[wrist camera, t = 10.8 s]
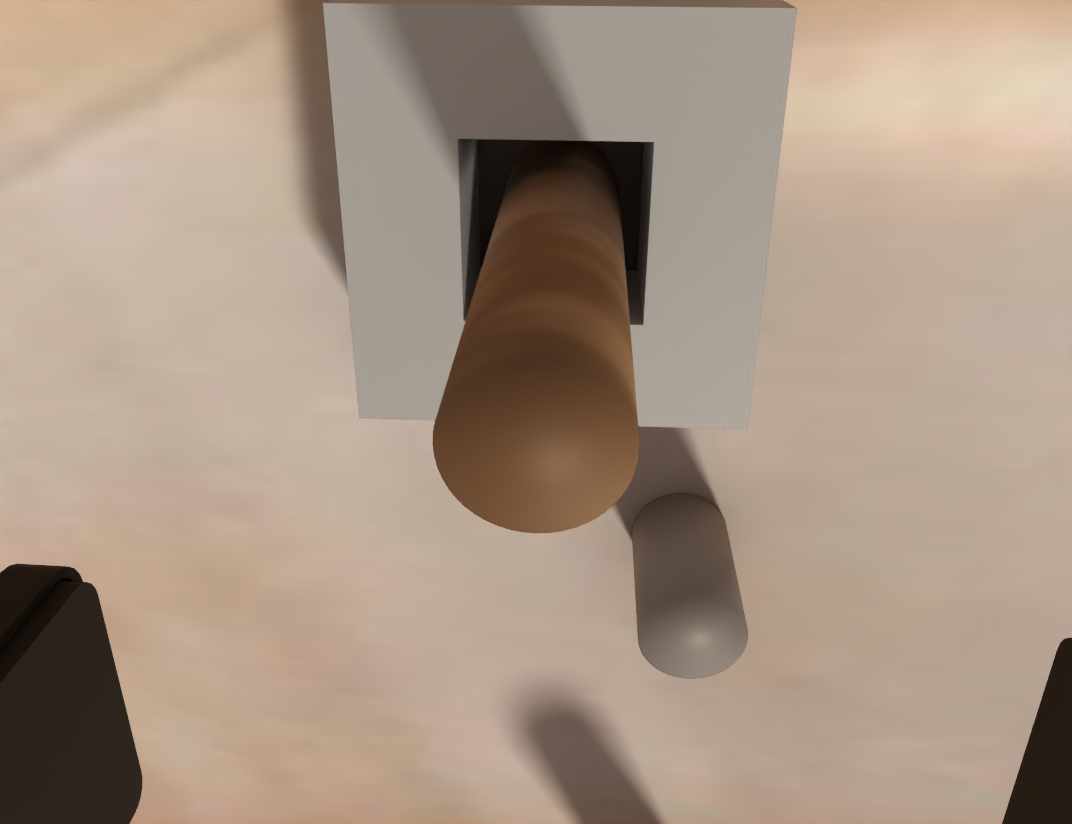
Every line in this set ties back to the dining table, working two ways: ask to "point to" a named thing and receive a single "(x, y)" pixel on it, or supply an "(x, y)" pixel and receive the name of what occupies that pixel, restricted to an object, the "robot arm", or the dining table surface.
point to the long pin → (545, 353)
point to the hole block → (573, 115)
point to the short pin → (686, 588)
